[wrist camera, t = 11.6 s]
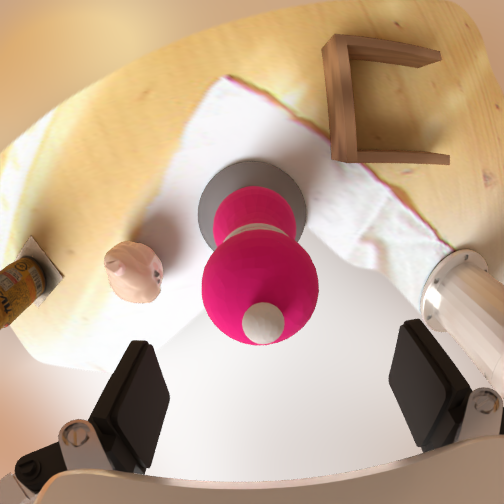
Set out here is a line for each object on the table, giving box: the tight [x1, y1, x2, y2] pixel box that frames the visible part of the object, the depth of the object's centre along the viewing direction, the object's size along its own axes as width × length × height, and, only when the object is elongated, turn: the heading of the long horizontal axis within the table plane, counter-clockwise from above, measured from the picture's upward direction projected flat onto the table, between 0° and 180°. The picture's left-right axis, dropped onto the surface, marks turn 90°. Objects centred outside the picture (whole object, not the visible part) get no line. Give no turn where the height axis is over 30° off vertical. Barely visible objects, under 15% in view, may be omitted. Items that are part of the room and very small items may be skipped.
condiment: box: [0, 236, 63, 329], centre depth 27 cm, size 7×8×12 cm
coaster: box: [198, 161, 306, 251], centre depth 31 cm, size 11×11×1 cm
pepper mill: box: [202, 186, 319, 345], centre depth 21 cm, size 7×7×20 cm
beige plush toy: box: [104, 241, 163, 303], centre depth 29 cm, size 7×6×8 cm
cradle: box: [322, 34, 450, 165], centre depth 24 cm, size 12×12×5 cm
